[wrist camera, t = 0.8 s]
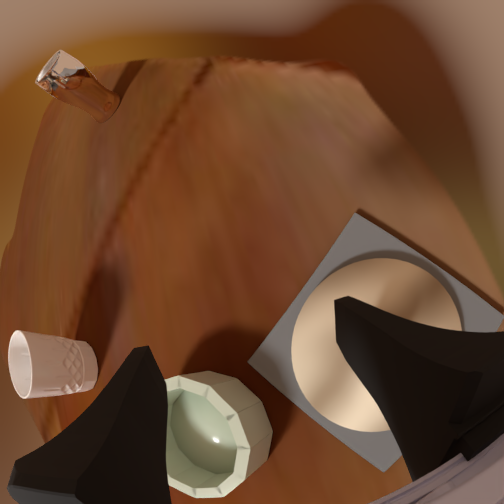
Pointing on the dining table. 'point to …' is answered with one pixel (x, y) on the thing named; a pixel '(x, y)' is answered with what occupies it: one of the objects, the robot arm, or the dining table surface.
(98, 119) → the beer glass
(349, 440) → the mat
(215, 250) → the dining table surface
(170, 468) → the bowl
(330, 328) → the lid
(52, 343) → the white cup
